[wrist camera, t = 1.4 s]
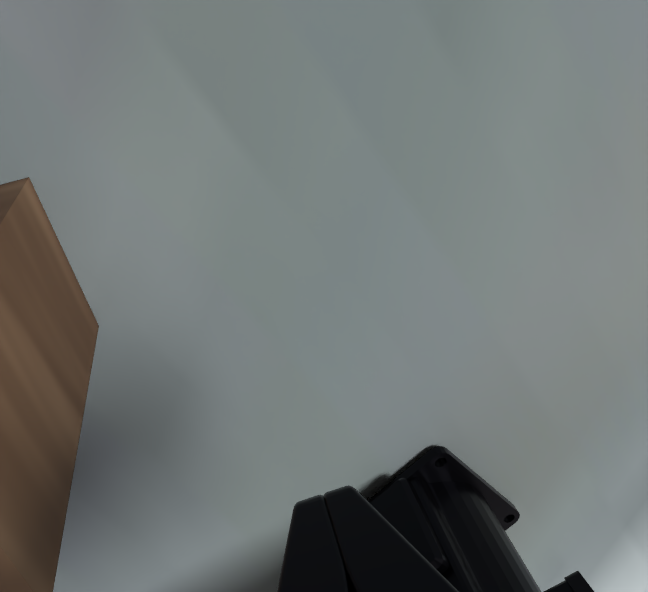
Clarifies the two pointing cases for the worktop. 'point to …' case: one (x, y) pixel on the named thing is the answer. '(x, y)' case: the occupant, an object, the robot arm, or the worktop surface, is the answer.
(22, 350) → the brown rectangular block
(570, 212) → the worktop surface
